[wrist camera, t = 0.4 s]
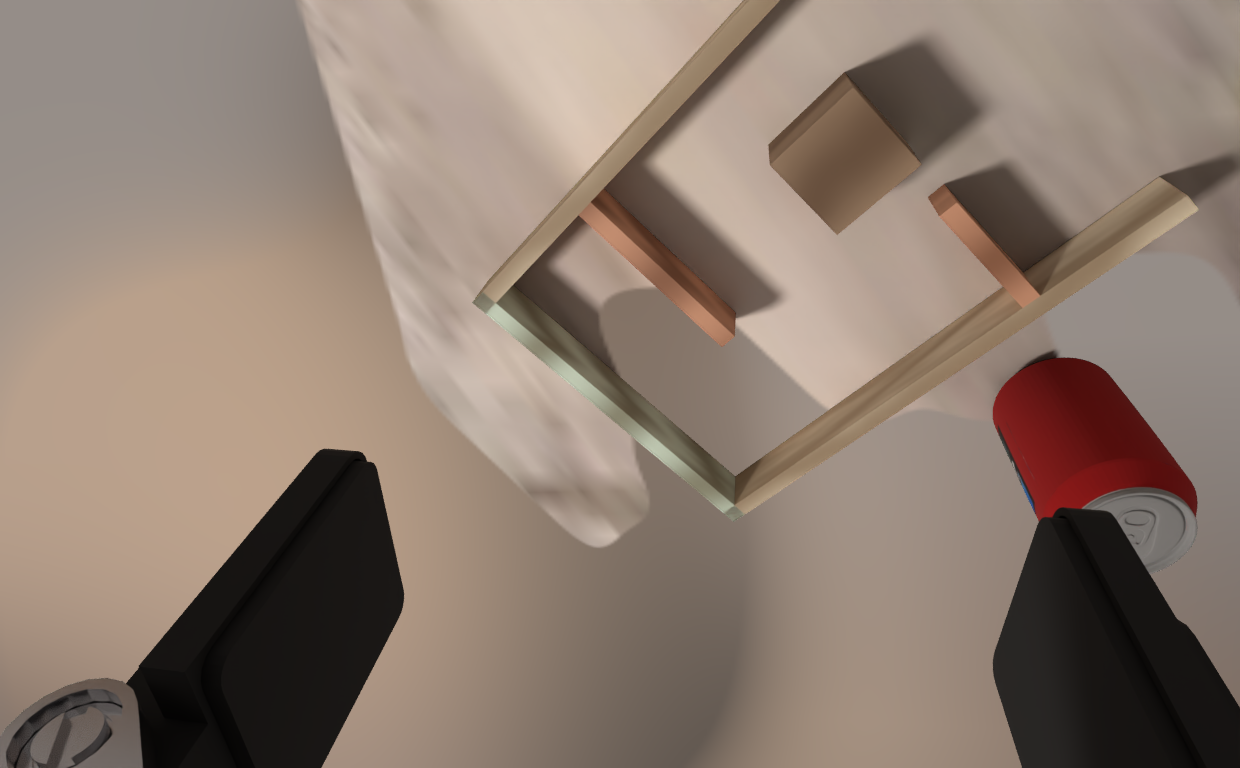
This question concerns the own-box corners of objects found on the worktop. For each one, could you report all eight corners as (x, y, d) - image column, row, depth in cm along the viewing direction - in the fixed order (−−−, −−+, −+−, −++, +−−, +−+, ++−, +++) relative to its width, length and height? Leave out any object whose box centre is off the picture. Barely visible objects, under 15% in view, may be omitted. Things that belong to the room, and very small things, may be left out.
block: (768, 144, 41) (769, 164, 37) (844, 71, 38) (852, 87, 35) (830, 208, 42) (837, 234, 39) (907, 142, 40) (921, 164, 36)
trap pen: (487, 281, 47) (472, 302, 45) (892, -164, 33) (904, -170, 31) (734, 492, 53) (733, 521, 51) (1170, 190, 39) (1198, 209, 36)
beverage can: (977, 441, 48) (1036, 582, 38) (1003, 346, 45) (1076, 474, 35) (1092, 448, 47) (1184, 595, 37) (1128, 353, 44) (1240, 486, 34)
